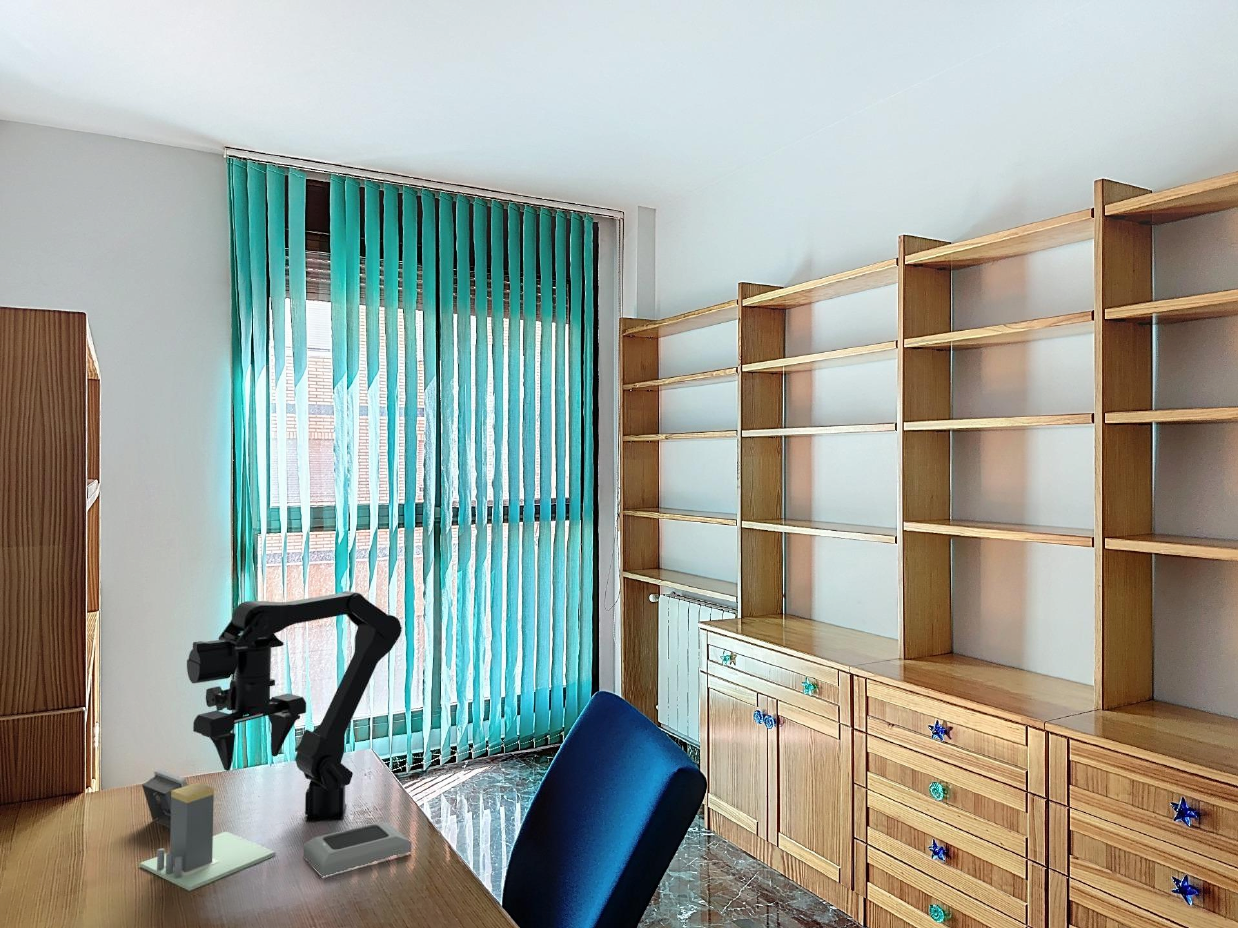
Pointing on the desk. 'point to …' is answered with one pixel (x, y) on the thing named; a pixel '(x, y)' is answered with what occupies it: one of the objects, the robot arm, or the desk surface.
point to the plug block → (192, 825)
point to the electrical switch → (161, 795)
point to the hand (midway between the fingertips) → (251, 762)
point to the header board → (225, 860)
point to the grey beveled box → (354, 847)
